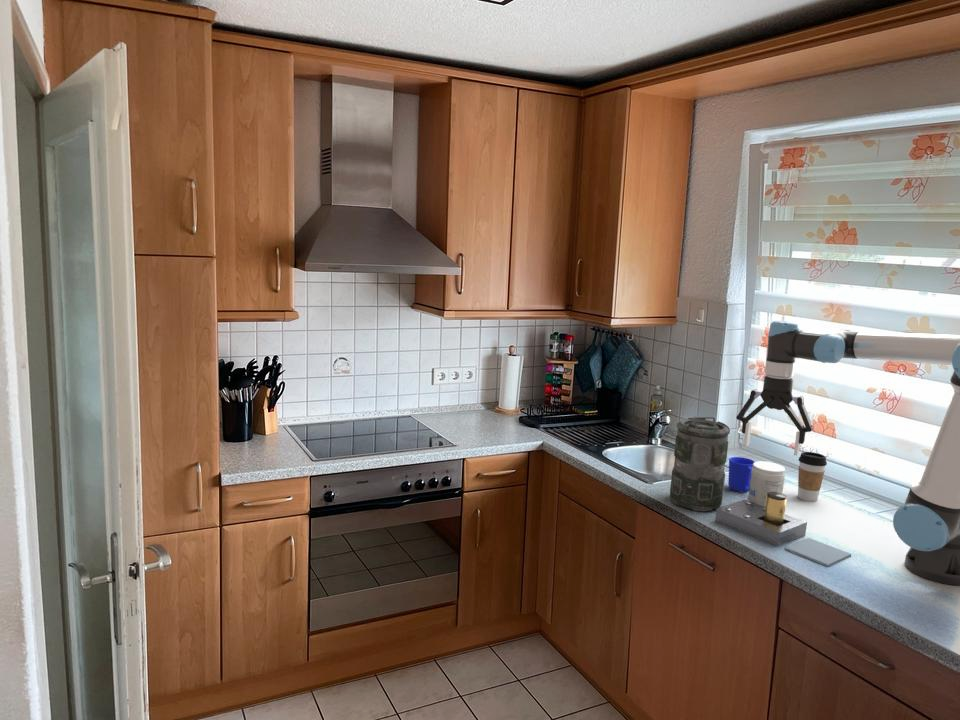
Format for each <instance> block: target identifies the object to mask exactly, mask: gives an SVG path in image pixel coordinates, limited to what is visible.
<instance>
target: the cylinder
mask: <svg viewBox="0 0 960 720" xmlns="http://www.w3.org/2000/svg"><path fill="white" fill-rule="evenodd" d="M787 497H788V496H787V494H785V493H779V492H768V493H767V498H766V506H765V514H764V521H765V522H768V523H770V524H773V525H776V526H781V525H783V523H784V515H785V514H786V507H787Z"/></svg>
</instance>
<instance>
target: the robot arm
mask: <svg viewBox="0 0 960 720" xmlns="http://www.w3.org/2000/svg"><path fill="white" fill-rule="evenodd" d="M767 338H768V339H767V340H768V341H767V351H766V359H765V368H764V374H765V376H763V377H764V378H763V386H762V387H763V388H762V391H759V390H758V389H756V388H754V389H752V390H751V391H750V393H749V398H748V399H747V401H746V402H745V404H743V407H741V410H740V411H739V412H738V414H737V415H736V420H738V421H741V423H742V426H741V433H742V434H743V435H744V440H743V442H744V443H743V446H744V447H748V446H749V445H750V441H751V431H752V430H751V429H752V422H751V420H752V419H753V418H754V417H755V416H756V415H758V414H759V413H760V412H762V410H763V409H765V407H767V408H768V409H771V410H774V409H775V410H777V411H782V410H783V412H785V414H787V416H788V417H789V419H790V420H791V422H792V423H793V424H794V426H795V427H796V428H797V431H796V434H795V442H794V451H793V456H796V457H797V456H798V455H799V453H800V448H801V445H803V444H804V443H805V439H806V433H810V432H812V431H813V430H814V427H813V424H812V421H811V419H810V417H809V416H810V415H809V414H808V411H807V409H806V406H805V403H804V402H805V400H804V399H805V398H804V396H803V395H800V396H794V395H793V393H792V392H793V385H794V379H793V377H794V375H795V367H796V366H795V365H796V360H797V359H801V360H802V359H803V360H809V361H814V362H820V363H823V364H826V363H827V364H838V363H839V362H840V360H842V359H852V360H853V359H856V360H857V359H859V360H872V361H873V360H874V361H887V362H901V363H913V364H914V363H915V364H928V365H929V364H930V365H941V366H943V365H944V366H951V367H952V369H953V371H952V374H951V376H950V379H949V384H950V386H951V388H953V393H952V396H951V398H950V402H949V404H948V407H947V409H946V412H945V414H944V416H943V419H942V423H941V426H940V428H939V431H938V434H937V436H936V439H935V442H934V445H933V448H932V450H931V452H930V454H929V455H930V456H929V458H928V460H927V462H926V466H925V469H924V471H923V474H922V476H921V479H920V481H918V482H915V483H912V484H911V485H910V489H909V490H908V493H907V496H906V498H905V501H904V504H903V505H901V506H900V507H899V508H897V510H896V511H895V513H894V515H893V517H892V525H893V530H894V532H895V533H896V535H897V536H898V538H899V539H900V541H902V542H903V543H904V544H905V545H907V546H908V547H909V549H908V550H907V552H906V554H905V558H904V565H905V567H906V569H908V570H909V571H910V572H912V573H914V574H915V575H917V576H920V577H922V578H924V579H926V580H930V581H933V582H937V583H939V584H941V583H942V584H944V585H952V586H960V335H959V334H941V333H940V334H938V333H937V334H934V333H908V332H883V331H881V332H879V331H864V330H863V331H856V330H850V329H839V330H835V331H825V332H814V331H813V332H812V331H805V330H801V329H800V325H799V323H798V322H796V321H788V320H775V321H772V322H771V323H770V326H769V332H768V335H767ZM759 397H760V398H761V399H762V401H763V402H761V403H760V404H759V405H758V406H757V407H755V409H753V410H752V411H751V412H750V413H749V414H747V415H746V413H747V412H748V410H749V409H750V408H751V406H752V404H753V403H754V402H755V400H756V399H758V398H759ZM792 402H794V404H795V405H796V406H797V409H798V413H799V414H800V417H801V419H802V421H803V422H802V421H801V420H800V418H799V416H797V414H796V413H795V411H794V410H793V407H792V406H791V405H790V404H791V403H792ZM745 415H746V416H745Z"/></svg>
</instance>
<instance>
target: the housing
mask: <svg viewBox="0 0 960 720" xmlns="http://www.w3.org/2000/svg"><path fill="white" fill-rule="evenodd" d="M764 514H765V507H764V506H761V505H758V504H756V503H753V502H750V501H748V499H743V500H740V501H736V502H732V503H730V504H726V505H723V506H720V507H718V508H716V514H715V522H716V523H719V524H721V525H724V526H727V527H729V528H731V529H733V530H736V529H737V531H738V530H740V531H739V532H741V531H742V533H743V532H745V533H744V534H746V533H747V535H748V534H749V535H748V536H751V535H752V536H751V537H753V536H754V537H753V538H756V539H758V538H759V540H761V541H763V540H764V541H763V542H765V543H768V542H769V543H768V544H770V543H771V545H773V546H776V547H780V546H782V545H785V544H788V543H789V542H790V543H791V542H792V541H793V542H794V541H795V540H798V539H800V538H803V537H805V536H806V532H807V526H808V521H805V520H802V519H799V518H797V517H794V516H791V515H789V514H786V513H785V515H784V523H783V525H781V526H776V525H773V524H770V523H768V522H765V521H764Z"/></svg>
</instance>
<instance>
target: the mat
mask: <svg viewBox="0 0 960 720" xmlns="http://www.w3.org/2000/svg"><path fill="white" fill-rule="evenodd" d="M784 550H786V551H788V552H791V553H793V554H795V555H798V556H800V557H803V558H805V559H808V560H810V561H813V562H815V563H818V564H820V565H823V566H825V567H831V566H833V565H836V564H837V563H840V562H841V561H843V560H845V559H848V558H850V557H852V553H849V552H848V551H845V550H842V549H839V548H837V547H834V546H832V545H828V544H826V543H823V542H821V541H818V540H816V539H813V538H811V537H807V538H804V539H802V540H799V541H797V542H794V543H792V544H790V545H787V546H785V547H784Z"/></svg>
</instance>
